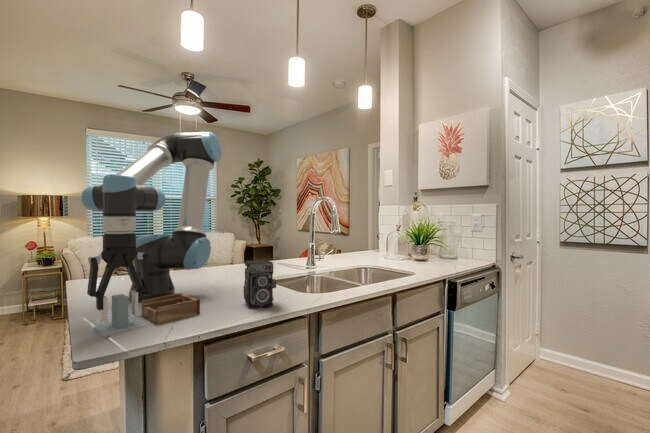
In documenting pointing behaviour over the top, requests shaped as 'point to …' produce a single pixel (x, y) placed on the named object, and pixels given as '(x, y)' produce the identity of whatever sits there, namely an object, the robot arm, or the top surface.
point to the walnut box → (170, 308)
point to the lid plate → (113, 330)
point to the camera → (259, 283)
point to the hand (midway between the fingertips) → (119, 317)
